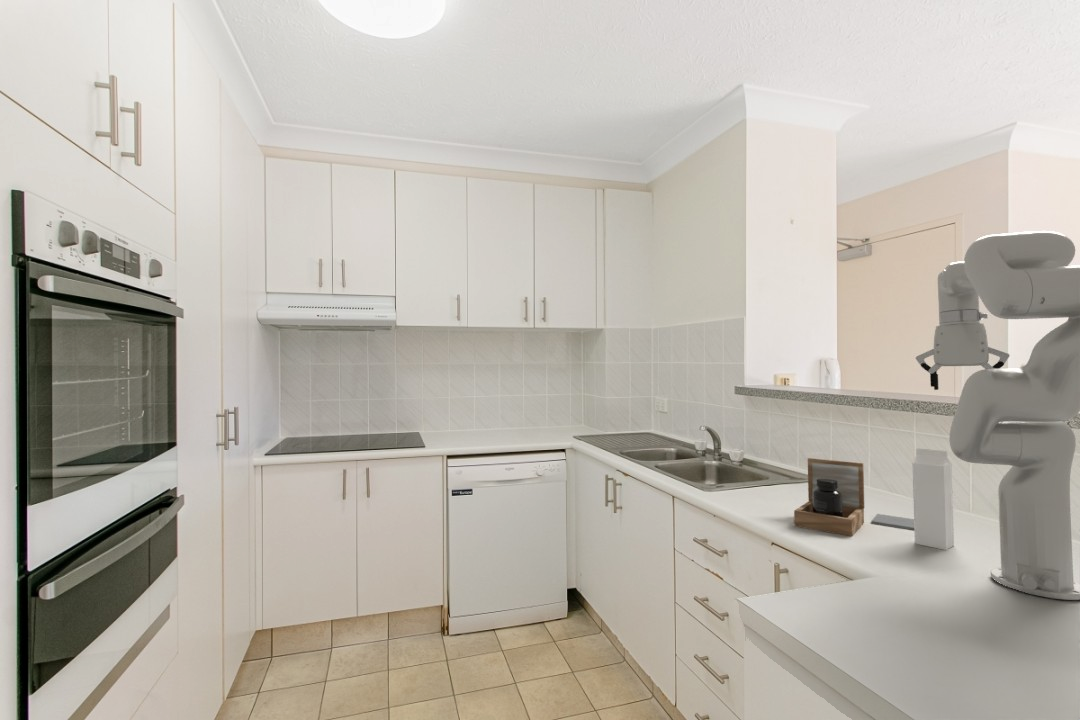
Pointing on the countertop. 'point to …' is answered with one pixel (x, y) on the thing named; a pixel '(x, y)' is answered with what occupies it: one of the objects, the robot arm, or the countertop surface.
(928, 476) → the milk
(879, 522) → the slate tile
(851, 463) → the box
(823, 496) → the supplement bottle
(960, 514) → the countertop surface
